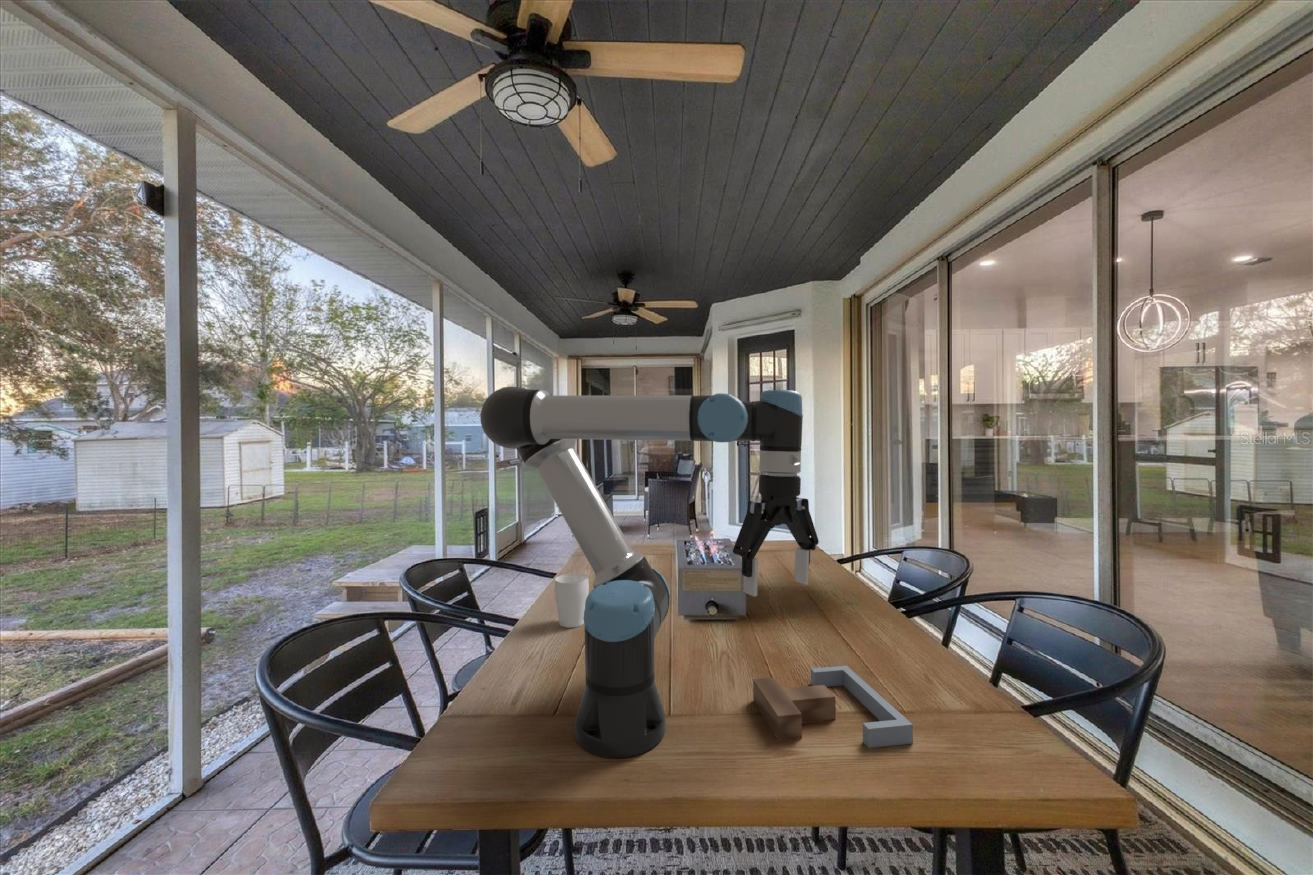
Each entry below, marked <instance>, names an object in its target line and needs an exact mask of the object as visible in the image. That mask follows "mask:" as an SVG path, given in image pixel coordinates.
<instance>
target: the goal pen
mask: <svg viewBox="0 0 1313 875" xmlns="http://www.w3.org/2000/svg"><path fill="white" fill-rule="evenodd" d="M810 685H811V686H817V685H825V686H826V687H827V688H828V687H838V686H843V687H844V688H845V689H847V691H849V693H851V694H852V696H853V697H855V699H856V700H857V701H859V702H860V703H861V704H862V705H863V706H864V707H865V709H867V711H869V712H870V713H871V714H872V715H873V716H874V717H875V718H876V719H877V720H878V721H870V722H862V743H864V745H865V746H866V747H867V748H868V749H873V748H883V747H892V746H899V745H909V744H914V727H913V726H914V724H913V723H912V722H911V721H910V720H908V719H907V718H906V717H905V716H904V715H903V714H902V713H900V712H899V711H898V710H897V709H896V708H895V706H893V705H891V704H890V703H889V702H888V701H887V700H886V699H885V698H884V697H882V696H881V694H879V693H878V692H877V691H876V690H875V689H873V688H872V686H870V685H869V684H868V683H867V682H866V681H864V679H862V678H861V677H860V676H859V675H858V674H857V673H856V672H855V671H853V670H852V669H851V668H850V667H849V666H848V665H838V666H825V667H824V666H823V667H814V668H813V667H812V668H810Z"/></svg>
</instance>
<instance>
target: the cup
mask: <svg viewBox="0 0 1313 875" xmlns="http://www.w3.org/2000/svg"><path fill="white" fill-rule="evenodd" d="M589 590H590V586H589V576H588V574H587V575H586V574H585V573H565V574H561V575H558V576H556V577H555V579H554V596H555V603H556V604H555V605H556V609H557V610H556V611H557V616H558V617H557V618H558V622H559V623H558V624H559V625H560V626H561V627H562V628H566V629H567V628H568V629H571V628H572V629H573V628H578V627H581V626H583V625H585V624H584V610H585V602H586V598H587V596H588V595H589V593H590V592H589Z"/></svg>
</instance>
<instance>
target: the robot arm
mask: <svg viewBox="0 0 1313 875" xmlns="http://www.w3.org/2000/svg"><path fill="white" fill-rule="evenodd" d="M479 416H480V419H479V420H480V424H481V428H482V430H483V432H484V434H485V435H486V436H487V438H488V439H489V440H490V441H491V442H492V443H494V444H496V445H497V446H499V447H502V448H504V449H505V448H506V449H513V450H514V449H515V450H516V451H517V452H518V454H519V456H520V458H521V460H522V461H523V463H524V465H525V466H526V467H529V468H533V469H535V470H537V473H538V475H539V476H540V477H541V479H542V482H543V483H544V485H545V486H546V488H547V490H548V492H549V493H550V496H551V497H552V499H553V500H554V503H555V505H556V506H557V508H558V510H559V512H560V513H561V515H562V517H563V519H564V521H565V522H566V524H567V526H568V527H569V529H570V531H571V533H572V535H573V536H574V538H575V540H576V542H577V543H578V545H579V547H580V549H581V551H582V553H583V554H584V556H585V558H586V560H587V562H588V563H589V565H590V567H591V569H592V570H593V573H594V579H593V583H592V587H593V589H592V590H590V592H588V596H587V598H586V602H585V610H584V624H583V625H584V662H585V663H584V665H585V668H584V670H585V686H584V689H583V693H582V696H581V699H580V701H579V702H580V703H579V705H578V709H577V712H576V716H575V739H576V741H577V743H578V744H579V745H580V747H582V748H583V750H586V751H587V752H589V753H590V754H593V755H596V756H599V757H604V758H612V759H614V758H615V759H622V758H629V757H634V756H638V755H641V754H644V753H646V752H648V751H650V750H652V749H653V748H655V747H656V746H657V745H658V744H659V743H660V742H661V741H662V740H663V738H664V736H665V733H666V713H665V712H666V711H665V708H664V706H663V702H662V699H661V697H660V694H659V691H658V688H657V685H656V681H655V678H656V677H655V640H656V637H657V635H658V632H659V630H660V628H661V626H662V624H663V623H664V621H665V619H666V617H667V615H668V613H669V608H670V601H671V593H670V588H669V584H668V583H667V580H666V578H665V577H664V576H663V575H662V574H661V572H659V571H658V570H657V569H655V568H653V567H651V565H650V563H649V562H648V560H647V557H646V556H645V554H644V553H640V552H636V551H634V550H633V549H632V547H631V546H630V543H629V542H628V540H627V539H626V537H625V534H624V533H623V531H622V530H621V527H620V526H619V524H618V522H617V521H616V519H615V517H614V515H613V513H612V512H611V510H610V509H609V507H608V505H607V503H606V502H605V500H604V498H603V496H602V494H601V492H600V491H599V490H598V487H597V486H596V484H595V482H594V480H593V479H592V477H591V475H590V473H589V472H588V470H587V468H586V466H585V465H584V463H583V461H582V459H581V458H580V456H579V453H578V452H577V450H576V444H577V440H603V441H604V440H605V441H606V440H607V441H609V440H617V441H619V440H620V441H677V442H678V441H680V442H681V441H682V442H683V441H685V442H688V441H691V442H693V441H695V442H715V443H731V442H759V461H758V463H759V464H758V465H759V466H758V470H759V472H761V474H760V475H758V492H759V494H760V495H761V500H760V501H759V502H758V501H754V500H753V501H752V500H749V501H748V502H747V505H746V506H747V507H746V514H745V517H744V519H743V522H742V525H741V528H740V530H739V533H738V535H737V537H736V541H735V543H734V545H733V548H732V553H733V554H735V555H737V556H739V557H741V575H742V576H743V587H742V590H743V591H742V592H743V593H745V594H747V595H748V596H752V597H757V596H758V583H759V582H758V580H759V577H758V575H759V572H758V570H759V558H756V556H757V554H758V552H759V550H760V549H761V546H762V545H763V543H764V541H765V540H766V539H767V536H768V534H769V532H770V531H771V530H773V529H774V528H775V527H776V526H781V525H786V527H787V528H788V530H789V532H790V534H791V535H792V537H793V539H794V540H795V542H796V543H797V545H798V546H799V547H798V546H797V547H795V553H794V555H795V556H794V582H796V583H800V584H802V585H805V586H806V585H809V578H810V577H809V576H810V575H809V574H810V573H809V571H810V569H809V567H810V563H811V551H815V550H816V548H817V546H818V545H819V543H820V542H819V537H818V534H817V531H816V528H815V524H814V521H813V518H812V515H811V513H810V508H809V507H810V503H809V499H808V498H802V497H799V496H800V495H801V481H802V480H801V479H802V478H801V477H800V476H799V475H798V474H800V473H801V468H802V467H801V466H802V465H801V464H802V462H801V460H802V459H801V458H802V456H801V455H802V443H803V442H802V439H803V438H802V436H803V419H804V418H803V417H804V415H803V397H802V394H801V393H800V392H799V391H796V390H791V389H772V390H771V389H769V390H764V391H762V392H761V394H760V399H759V400H755V401H745V400H744V401H743V400H742V401H741V400H740V398H738V397H736V396H735V395H732V394H731V393H715V394H712V395H690V394H689V395H688V394H687V395H684V394H683V395H682V394H681V395H678V394H675V395H672V394H671V395H654V394H652V395H645V394H644V395H643V394H642V395H640V394H639V395H635V394H634V395H628V394H627V395H612V394H611V395H609V394H607V395H553V394H552V393H549V392H548V391H547V390H545V389H528V388H524V387H520V386H507V387H506V386H505V387H502V388H499V389H497V390H494V391H493V392H492V393H491V394H489V396H487V398H486V399H485V401H484V402H483V404H482V407H481V409H480V415H479Z"/></svg>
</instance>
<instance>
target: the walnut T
mask: <svg viewBox="0 0 1313 875" xmlns="http://www.w3.org/2000/svg"><path fill="white" fill-rule="evenodd" d="M752 680H753V681H752V683H753V684H752V686H753V688H752V692H753V695H752V696H753V700H754V701H753V702H754V705H755V706H756V707H757V709H758V710H759V712H760V713H761V715H762V717H763V716H764V717H763V718H764V720H765V719H766V720H765V722H766V721H767V722H766V723H767V725H768V724H769V725H768V726H769V728H770V730H771V729H772V730H771V732H774V733H773V734H774V737H775V738H776V740H777V741H779V742H780V741H790V740H798V739H797V738H801V739H803V723H802V722H806V723H811V722H810V721H816V722H821V721H820V720H826V721H831V720H830V719H836V720H837V716H836V715H837V713H836V695H835V694H834V693H833V692H832V691H831V690H830V689H829V688H828V687H826V686H825V685H817V686H812V685H808V686H807V685H806V686H798V687H797V686H796V687H785V688H783V687H782V686H781V685H780V684H779V682H778V681H777V680H776V678H775V677H763V678H753V679H752Z"/></svg>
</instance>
